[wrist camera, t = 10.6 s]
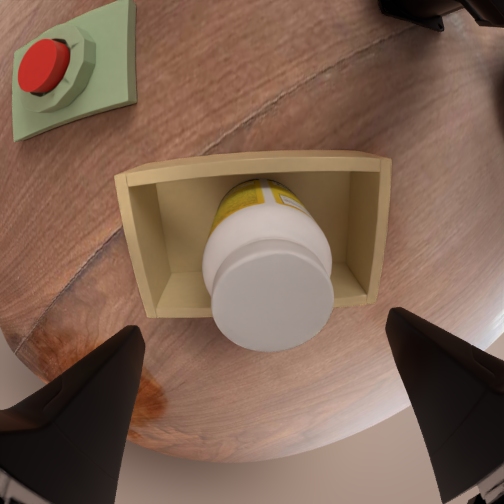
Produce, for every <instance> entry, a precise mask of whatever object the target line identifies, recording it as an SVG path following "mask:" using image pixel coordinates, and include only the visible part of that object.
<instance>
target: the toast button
mask: <svg viewBox="0 0 504 504" xmlns="http://www.w3.org/2000/svg"><path fill="white" fill-rule="evenodd" d="M69 61H70V53H69V49H68V48H67V46H66V45H65V44H63V43H60V42H57V41H54V40H51V39H42V40H40V41H38V42H36V43H35V44H33V45H32V46H31V47H30V48H29V49H28V51H27V52H26V53H25V55H24V57H23V58H22V61H21V63H20V66H19V69H18V83H19V86H20V88H21V89H22V90H23V91H25V92H38V93H44V92H48V91H50V90H52V89H53V88H55V87H56V86H57V85H58V84H59V83H60V81H61V80H62V79H63V77H64V75H65V73H66V71H67V68H68V66H69Z"/></svg>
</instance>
